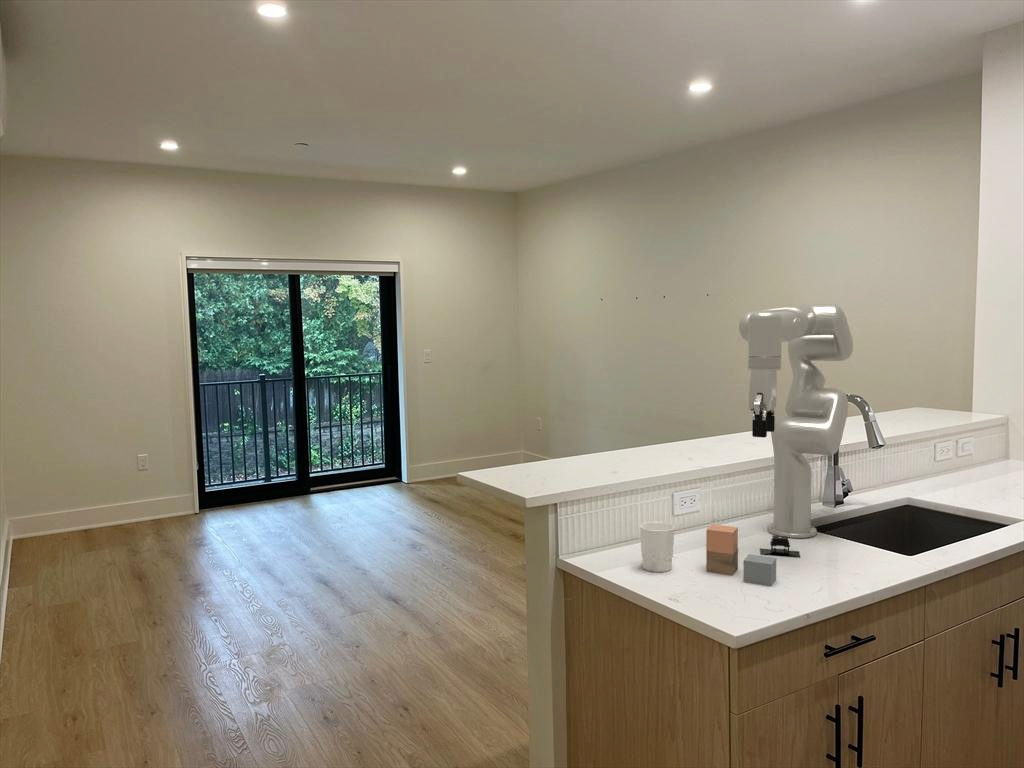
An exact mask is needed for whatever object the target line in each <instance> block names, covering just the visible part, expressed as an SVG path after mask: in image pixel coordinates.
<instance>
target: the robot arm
mask: <svg viewBox="0 0 1024 768" xmlns="http://www.w3.org/2000/svg"><path fill="white" fill-rule="evenodd" d="M738 331H739V334H740V336H741V338H742V339H743V340H744V341H746V342H748V343H747V345H748V347H747V348H748V349H747V350H748V351H747V352H748V355H747V356H748V357H747V358H748V361H747V363H748V364H747V370H749V371H750V377H749V391H748V410H749V411H750V412H752V413H753V414H752V422H751V423H752V424H751V425H752V433H751V436H752V437H753V438H766V437H767V436H768V435H767V434H768V433H770V436H771V442H772V443H771V444H772V448H773V449H772V451H773V459H774V460H773V461H774V462H773V463H774V464H773V466H774V467H773V469H774V471H773V474H774V475H773V482H774V483H773V522H771V523H769V524H767V527H766V528H767V531H768V533H770V534H772V535H777V536H779V537H781V536H788V538H792V539H802V538H803V539H806V538H807V539H808V538H812V537H815V536H816V535H817V532H818V531H817V528H816V527H814V526H813V525H811V523H812V519H811V517H812V475H813V474H812V473H813V472H812V467H811V464H810V462H809V460H808V459H807V458H806V456H805V455H804V454H809V455H810V454H811V455H821V456H831V455H835V454H836V453H838V451H839V449H840V447H841V444H842V439H843V436H844V430H845V427H846V423H847V418H848V413H849V401H848V396H847V394H846V393H845V392H844V391H843V390H842V389H838V388H834V387H833V388H831V387H830V388H829V387H825V384H826V378H825V376H824V374H823V373H822V372H821V370H820V369H819V368H818V367H817V366H816V365H815V364H814V363H813V362H812V361H819V362H820V361H821V362H823V361H824V362H827V361H829V362H842V361H846V360H848V359H850V357H852V354H853V351H854V341H853V335H852V333H851V329H850V327H849V322H848V319H847V317H846V315H845V311H843V309H842V307H841V306H839V305H837V304H835V303H833V304H832V303H831V304H830V303H829V304H827V303H826V304H800V305H795V306H794V305H793V306H787V307H785V306H784V307H778V308H771V309H763V310H762V309H761V310H752V311H747V312H745V313H744V314H743V315H742V317H741V318H740V321H739V324H738ZM782 343H787V354H788V359H789V365H790V368H791V373H792V380H791V384H790V388H789V389H788V394H787V398H786V401H785V405H784V406H785V407H784V409H785V413H786V416H783V417H779V418H777V419H776V417H775V408H776V406H777V396H778V395H777V394H778V393H777V392H778V390H777V389H778V388H777V387H778V386H777V385H778V383H777V382H778V381H777V378H778V377H777V371H782ZM775 419H776V420H775Z"/></svg>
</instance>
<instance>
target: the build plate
mask: <svg viewBox="0 0 1024 768" xmlns="http://www.w3.org/2000/svg"><path fill="white" fill-rule="evenodd" d="M771 536H772V538H771V539H770V542H769V543H770V548H762V547H760V548H759V554H760V555H759V556H768V557H785V558H794V559H795V558H797V559H798V558H799V559H800V558H801V554H800V553H801V552H800V551H799V550H790V548H791V544H790V540H789V537H788V536H778V535H775V534H772V535H771ZM776 547H784V548H776Z"/></svg>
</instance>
